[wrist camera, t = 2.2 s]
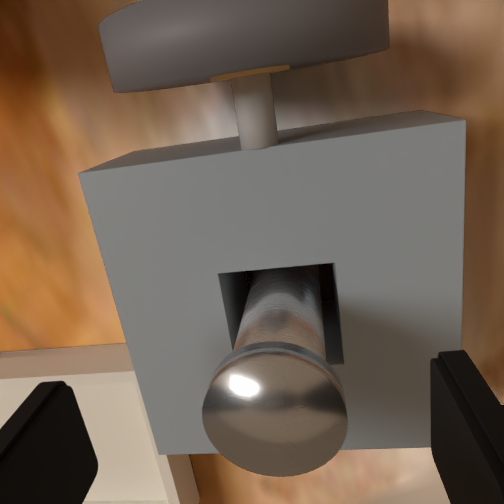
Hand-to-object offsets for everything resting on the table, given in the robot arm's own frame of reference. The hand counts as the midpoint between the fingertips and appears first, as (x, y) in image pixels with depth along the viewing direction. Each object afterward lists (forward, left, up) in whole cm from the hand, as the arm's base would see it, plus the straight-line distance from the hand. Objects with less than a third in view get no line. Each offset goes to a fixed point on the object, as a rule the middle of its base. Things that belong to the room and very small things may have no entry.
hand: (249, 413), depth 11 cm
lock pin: (-1, 0, -10) cm, 10 cm away
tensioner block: (-1, -2, -10) cm, 10 cm away
